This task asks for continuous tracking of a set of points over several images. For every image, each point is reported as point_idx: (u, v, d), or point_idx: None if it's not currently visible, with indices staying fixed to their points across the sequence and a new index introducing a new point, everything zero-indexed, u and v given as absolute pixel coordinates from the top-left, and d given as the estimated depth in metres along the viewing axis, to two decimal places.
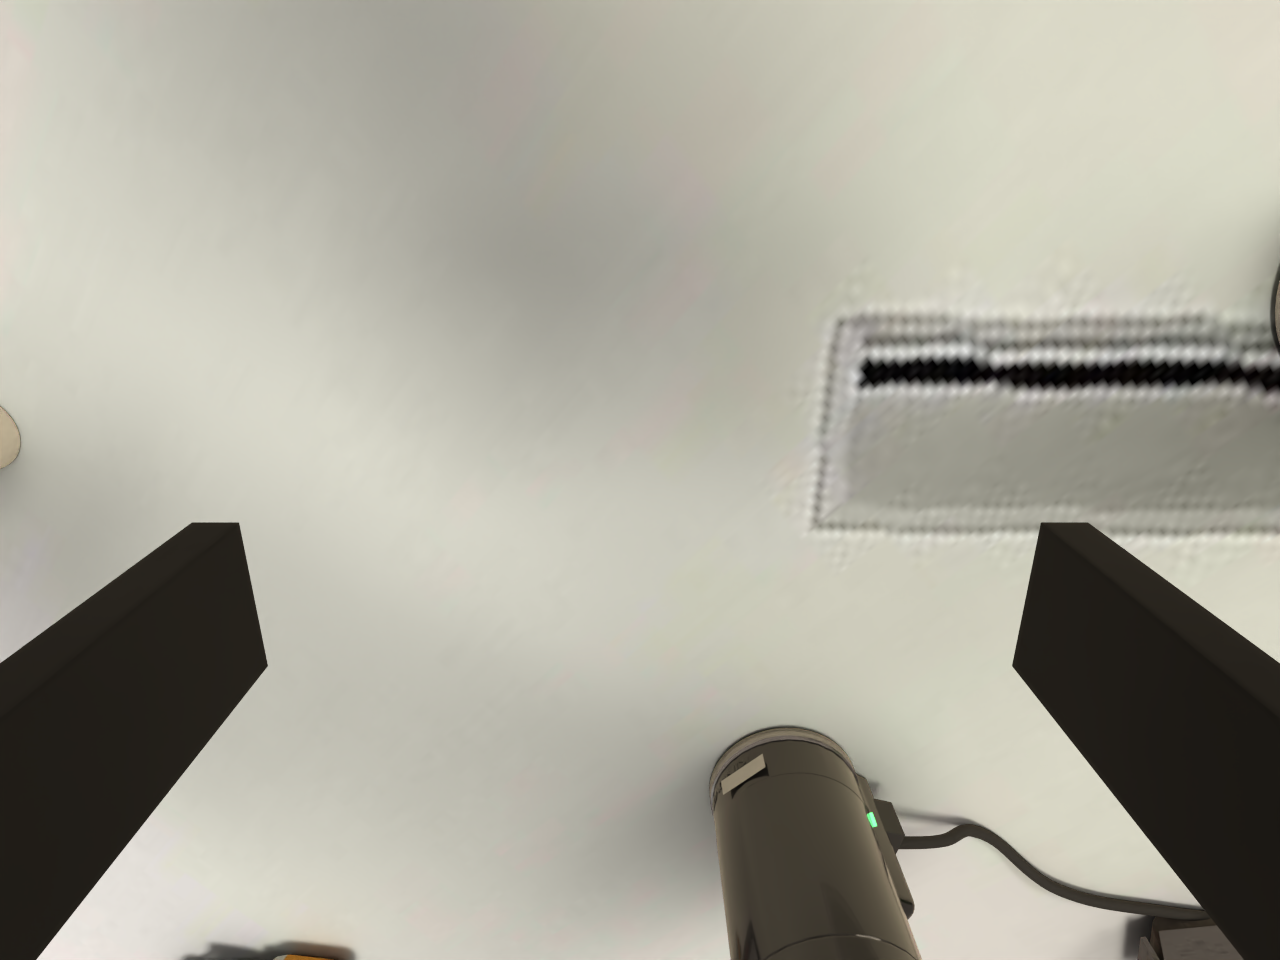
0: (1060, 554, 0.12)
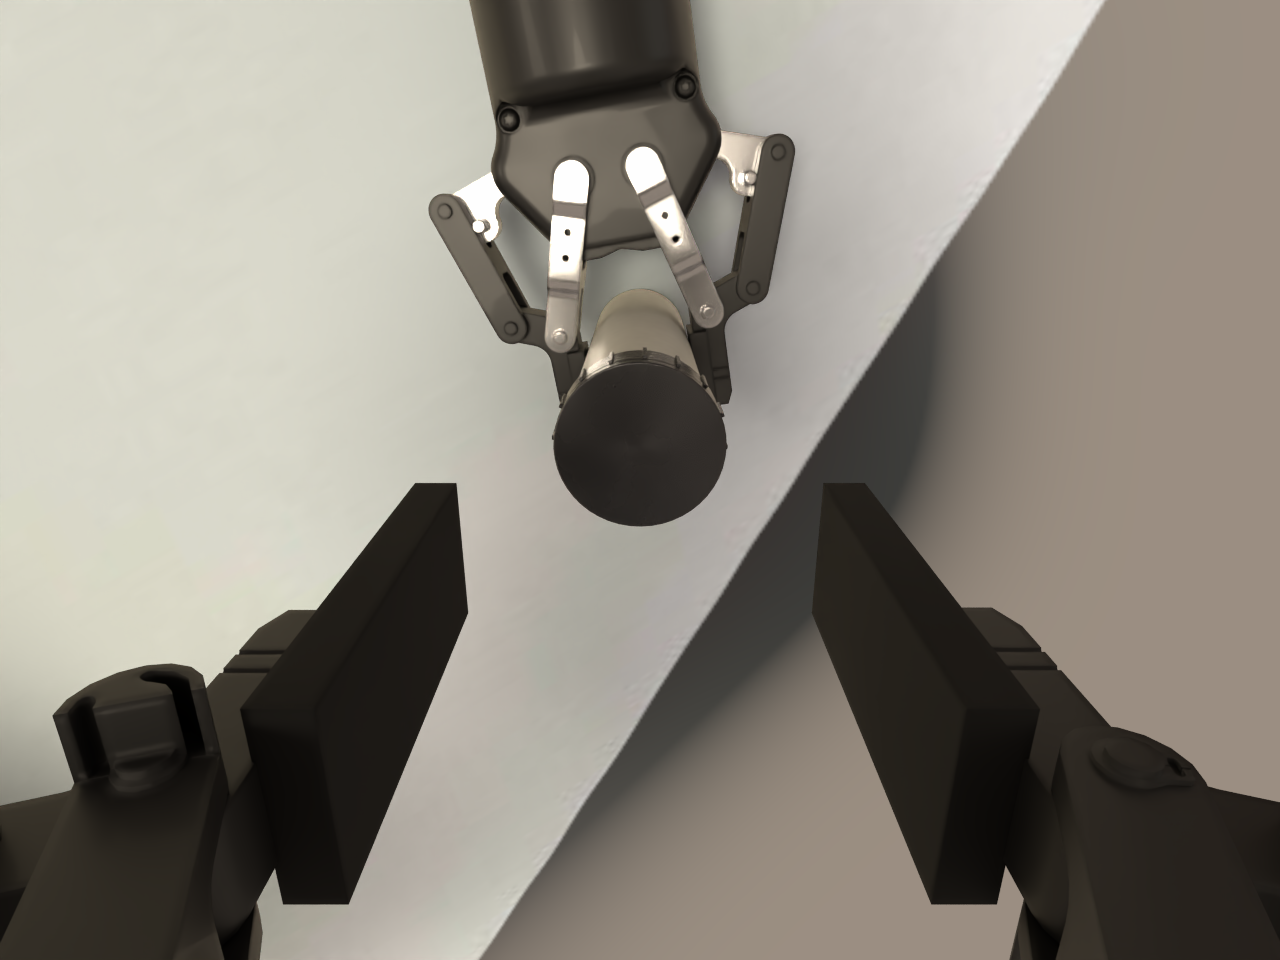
0: (831, 509, 0.13)
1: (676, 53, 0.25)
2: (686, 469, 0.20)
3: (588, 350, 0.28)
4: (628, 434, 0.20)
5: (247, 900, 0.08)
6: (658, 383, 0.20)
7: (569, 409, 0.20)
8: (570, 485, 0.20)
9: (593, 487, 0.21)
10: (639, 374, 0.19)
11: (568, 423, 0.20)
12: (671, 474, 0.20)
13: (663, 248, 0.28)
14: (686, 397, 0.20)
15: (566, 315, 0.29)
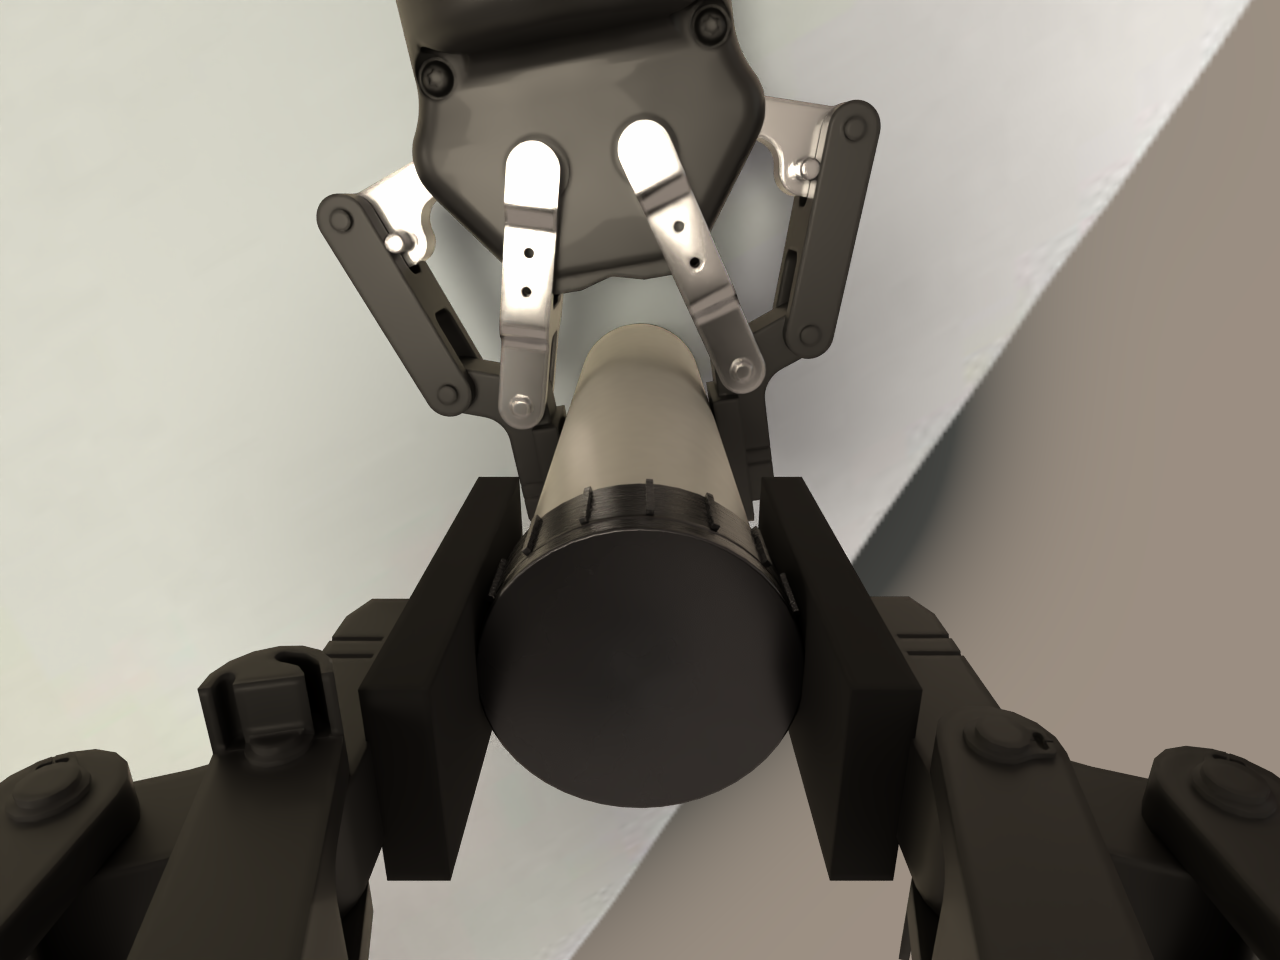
0: (766, 502, 0.14)
1: None
2: (728, 715, 0.11)
3: (562, 430, 0.19)
4: (618, 656, 0.10)
5: (364, 874, 0.08)
6: (677, 566, 0.10)
7: (503, 612, 0.10)
8: (509, 742, 0.11)
9: (553, 745, 0.11)
10: (639, 550, 0.10)
11: (502, 636, 0.10)
12: (700, 724, 0.11)
13: (676, 277, 0.18)
14: (731, 591, 0.10)
15: (530, 375, 0.19)
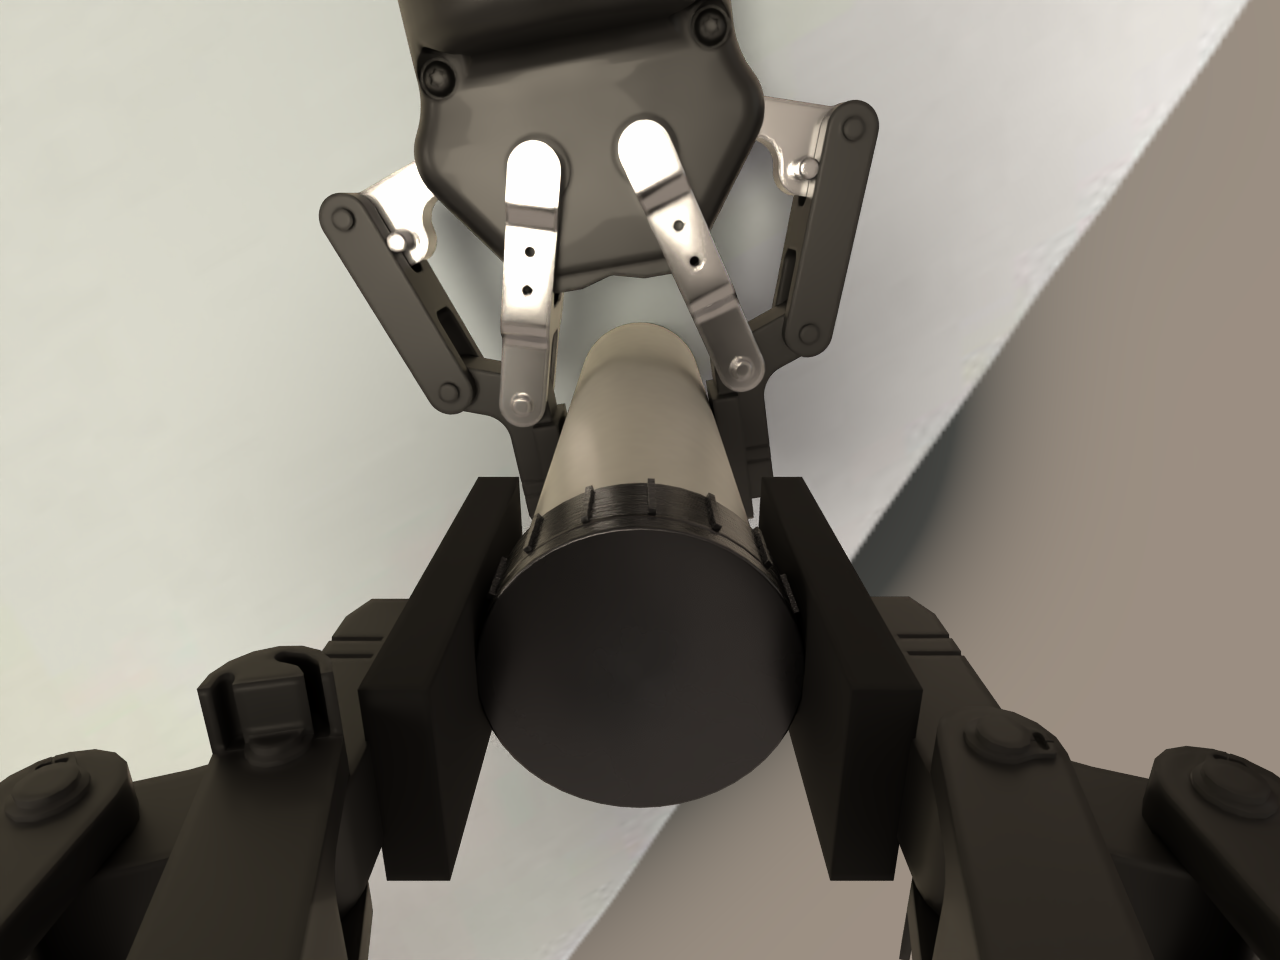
0: (766, 502, 0.14)
1: None
2: (687, 599, 0.10)
3: None
4: (613, 697, 0.11)
5: (363, 873, 0.08)
6: (513, 647, 0.10)
7: (567, 783, 0.11)
8: (710, 788, 0.11)
9: (717, 752, 0.11)
10: (497, 678, 0.11)
11: (592, 785, 0.11)
12: (696, 626, 0.10)
13: (675, 275, 0.18)
14: (538, 601, 0.10)
15: (531, 373, 0.20)
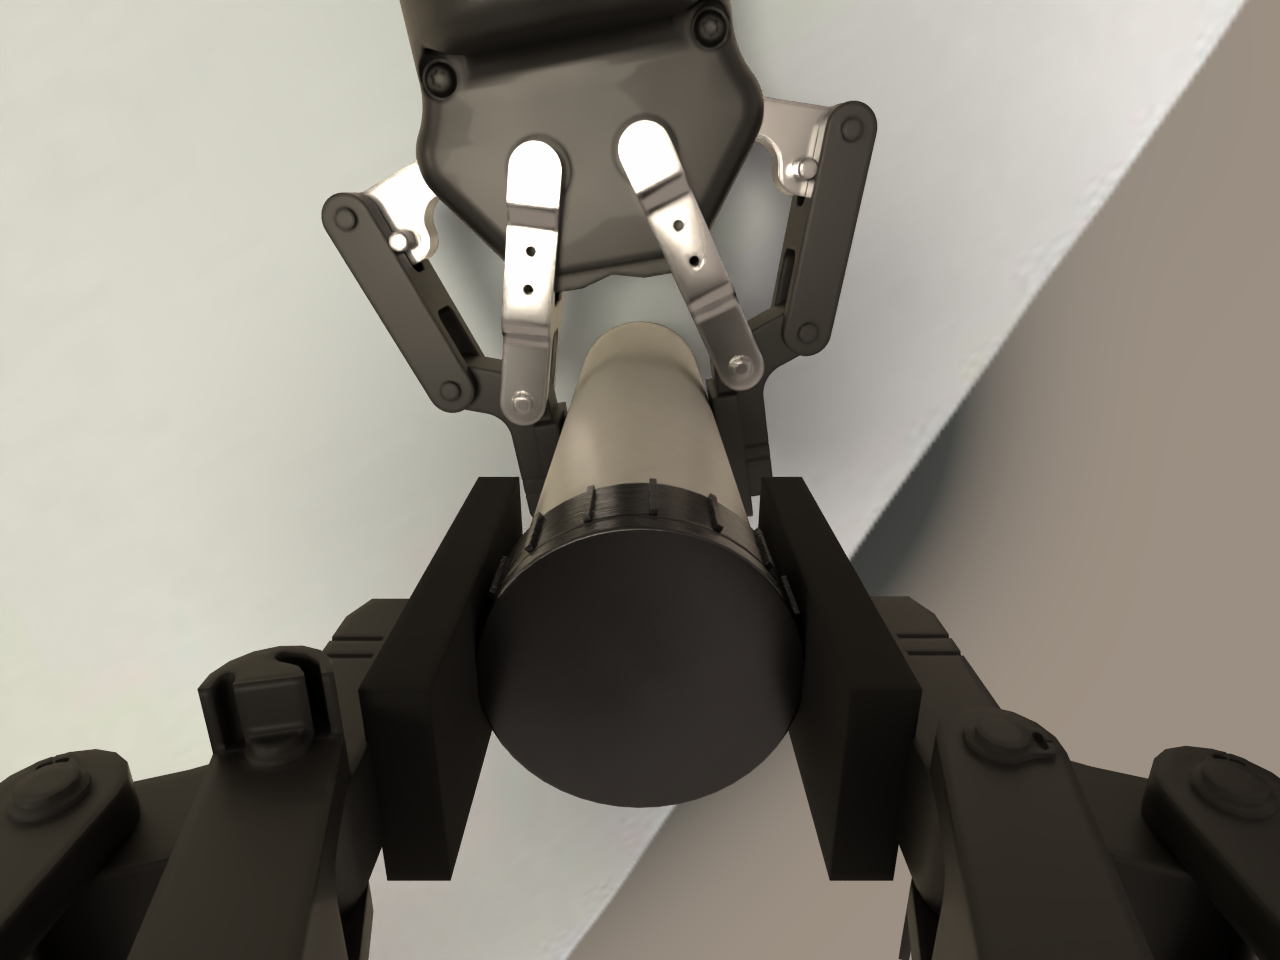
0: (766, 502, 0.14)
1: None
2: (549, 638, 0.10)
3: (563, 426, 0.19)
4: (661, 702, 0.11)
5: (364, 873, 0.08)
6: (605, 778, 0.11)
7: (766, 742, 0.11)
8: (782, 615, 0.10)
9: (736, 608, 0.10)
10: (638, 791, 0.11)
11: (770, 722, 0.11)
12: (578, 630, 0.10)
13: (675, 275, 0.18)
14: (554, 757, 0.11)
15: (531, 372, 0.20)
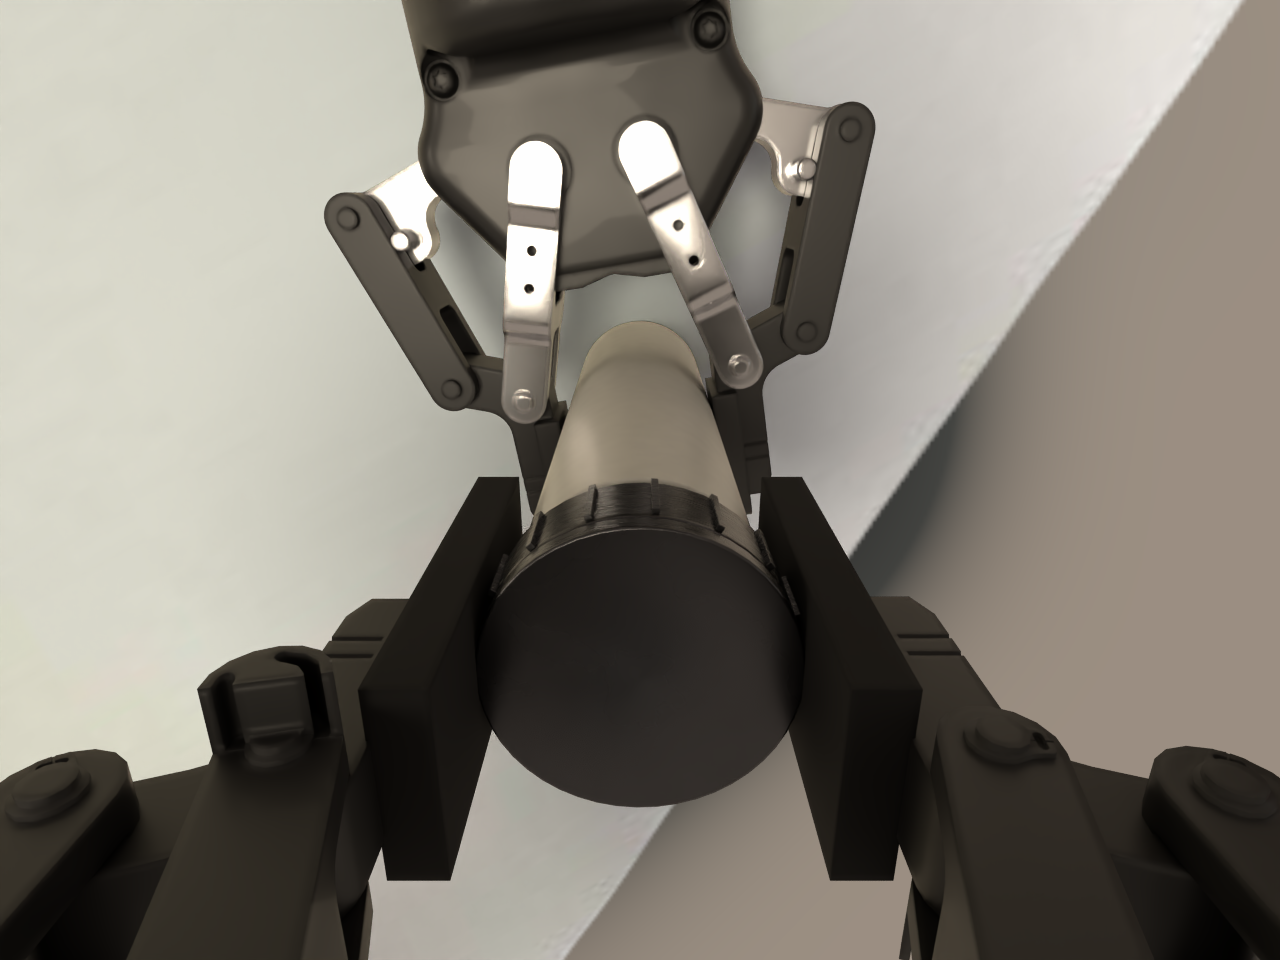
0: (766, 502, 0.14)
1: None
2: (595, 750, 0.11)
3: (564, 424, 0.19)
4: (668, 661, 0.10)
5: (363, 874, 0.08)
6: (762, 710, 0.11)
7: (725, 561, 0.10)
8: (563, 555, 0.10)
9: (558, 596, 0.10)
10: (782, 681, 0.11)
11: (697, 558, 0.10)
12: (585, 727, 0.11)
13: (675, 274, 0.19)
14: (732, 751, 0.11)
15: (533, 370, 0.20)
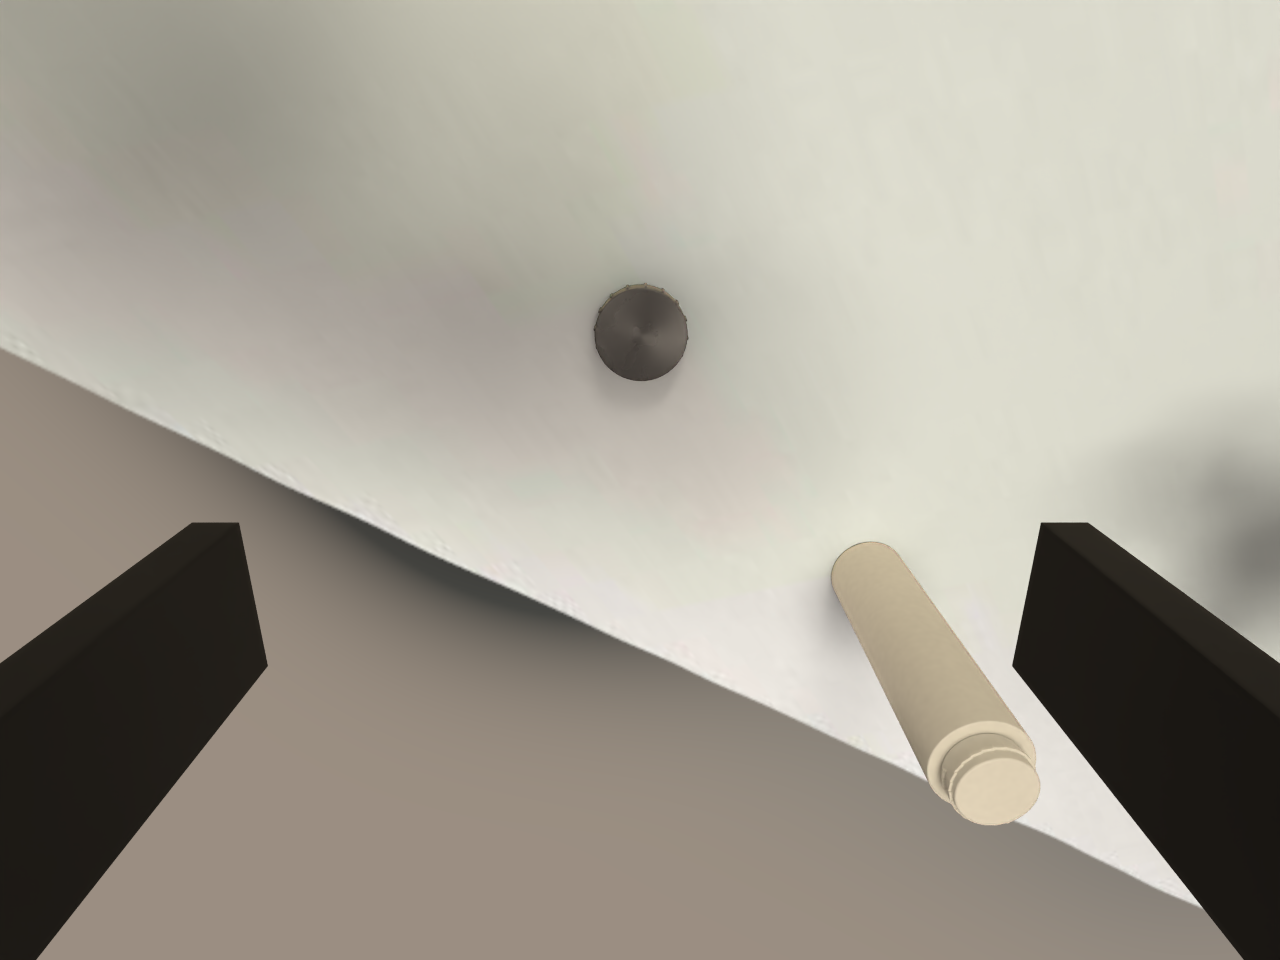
0: (1060, 554, 0.12)
1: None
2: (665, 348, 0.38)
3: (940, 623, 0.35)
4: (635, 327, 0.38)
5: None
6: (652, 300, 0.37)
7: (604, 312, 0.37)
8: (602, 355, 0.38)
9: (615, 357, 0.38)
10: (642, 294, 0.37)
11: (603, 320, 0.37)
12: (657, 351, 0.38)
13: None
14: (666, 308, 0.37)
15: None
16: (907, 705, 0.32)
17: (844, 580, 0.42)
